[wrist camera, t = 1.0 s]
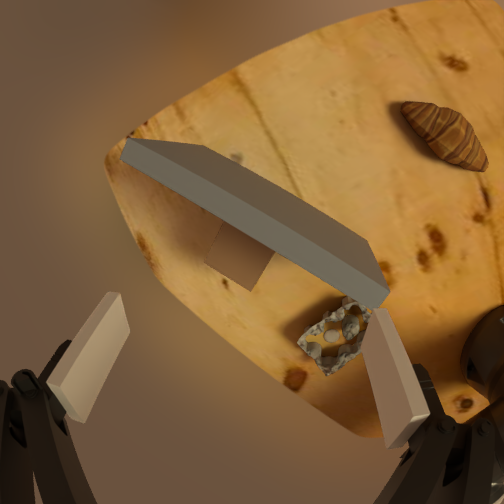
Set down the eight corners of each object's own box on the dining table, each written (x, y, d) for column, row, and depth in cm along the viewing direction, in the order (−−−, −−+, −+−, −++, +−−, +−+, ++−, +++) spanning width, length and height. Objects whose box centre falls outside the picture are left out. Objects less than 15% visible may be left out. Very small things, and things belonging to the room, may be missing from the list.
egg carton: (325, 362, 41) (324, 380, 38) (294, 328, 41) (290, 344, 37) (386, 325, 37) (390, 340, 34) (356, 286, 37) (358, 299, 33)
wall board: (366, 240, 35) (390, 291, 20) (324, 302, 39) (316, 379, 24) (203, 145, 37) (127, 137, 22) (173, 211, 40) (95, 237, 26)
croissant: (491, 146, 27) (509, 145, 22) (472, 188, 30) (489, 192, 25) (410, 85, 28) (420, 74, 24) (389, 128, 31) (398, 122, 26)
